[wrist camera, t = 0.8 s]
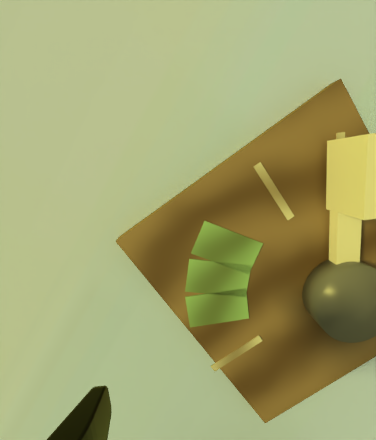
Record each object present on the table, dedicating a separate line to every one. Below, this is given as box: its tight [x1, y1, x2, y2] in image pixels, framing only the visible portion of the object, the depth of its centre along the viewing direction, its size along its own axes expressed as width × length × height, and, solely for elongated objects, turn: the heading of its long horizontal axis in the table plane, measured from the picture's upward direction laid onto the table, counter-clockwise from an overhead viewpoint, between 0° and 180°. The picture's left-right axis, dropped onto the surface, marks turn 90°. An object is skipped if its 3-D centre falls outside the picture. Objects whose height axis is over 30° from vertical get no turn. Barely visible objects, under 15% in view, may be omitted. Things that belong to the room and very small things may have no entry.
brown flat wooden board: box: [116, 79, 376, 423], centre depth 21 cm, size 22×20×1 cm
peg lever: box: [302, 133, 376, 343], centre depth 18 cm, size 15×6×4 cm, turn 6°
